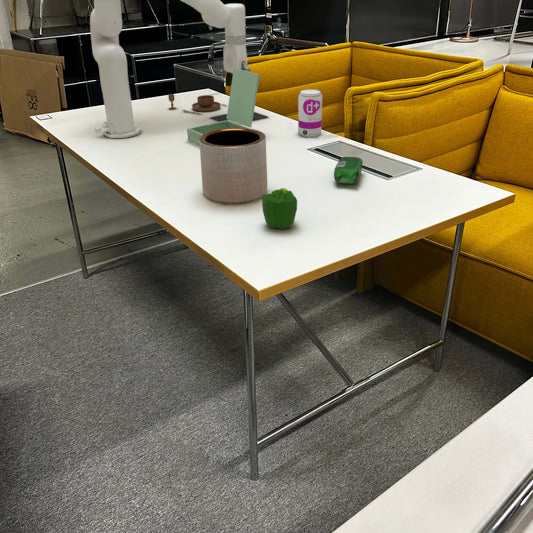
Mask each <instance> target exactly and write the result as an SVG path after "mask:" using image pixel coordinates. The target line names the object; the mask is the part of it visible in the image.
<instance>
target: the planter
mask: <svg viewBox="0 0 533 533" xmlns="http://www.w3.org/2000/svg"><path fill="white" fill-rule="evenodd" d="M248 128H249V127H247V128H224V129H217V130H213V131H209V132H207V133H205V134H203V135H201V136H200V138H199V144H200V145H199V157H200V172H201V173H200V174H201V185H202V186H201V188H202V192H203V195H204V196H205V197H206V198H208V199H209V200H211V201H214V202H217V203H221V204H244V203H249V202H252V201H253V202H254V201H256V200H258V199H259V198H262V197H263V195H264V194H267V191H268V164H267V160H268V159H267V136H266V134H265V133H264V132H263V131H260V130H257V129H255V128H249V129H248Z"/></svg>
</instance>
